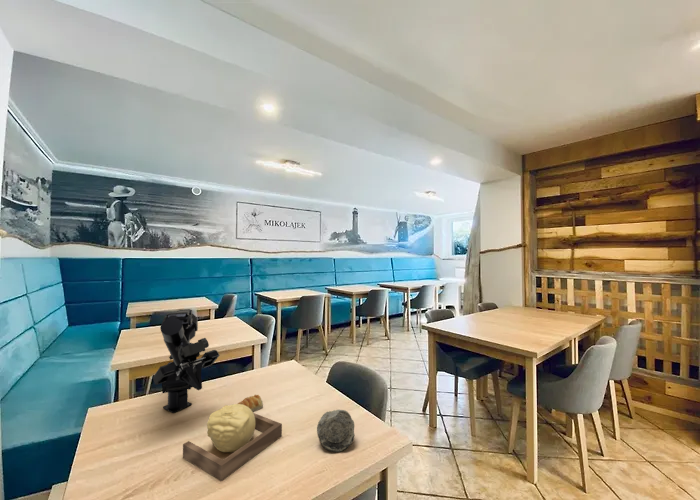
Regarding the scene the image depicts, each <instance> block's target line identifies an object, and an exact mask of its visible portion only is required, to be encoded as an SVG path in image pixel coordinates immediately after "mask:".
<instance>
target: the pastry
mask: <svg viewBox="0 0 700 500" xmlns="http://www.w3.org/2000/svg"><path fill="white" fill-rule="evenodd" d="M237 404H242V405H245V406H247V407H249V408H250V409H251V410H252V412H253V413H254V412H256V411H258V410H261V409H263V407H264V404H263V400H262V398H261V396H260V395H259V394H254V395H251V396H249V397H248V396H247V397H244V399H242V400H241V401H239V402H237Z"/></svg>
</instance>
